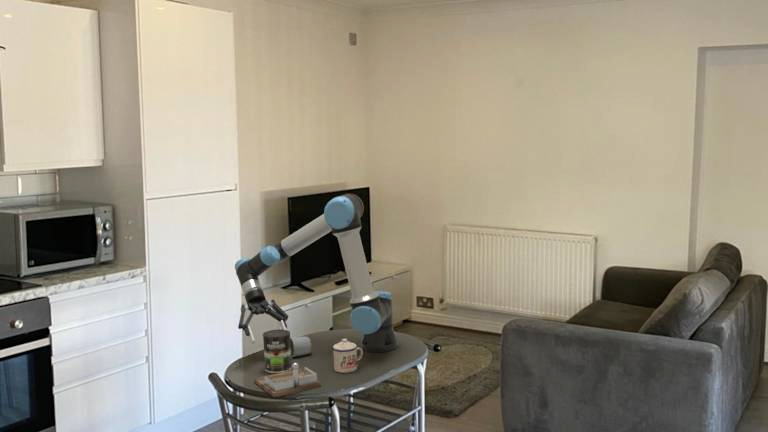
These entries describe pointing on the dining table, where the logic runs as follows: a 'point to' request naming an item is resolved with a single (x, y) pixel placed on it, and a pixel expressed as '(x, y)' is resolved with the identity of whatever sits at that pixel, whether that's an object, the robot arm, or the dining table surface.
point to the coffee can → (277, 351)
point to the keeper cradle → (292, 380)
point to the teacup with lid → (346, 356)
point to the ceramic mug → (300, 346)
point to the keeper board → (285, 376)
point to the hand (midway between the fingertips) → (269, 339)
